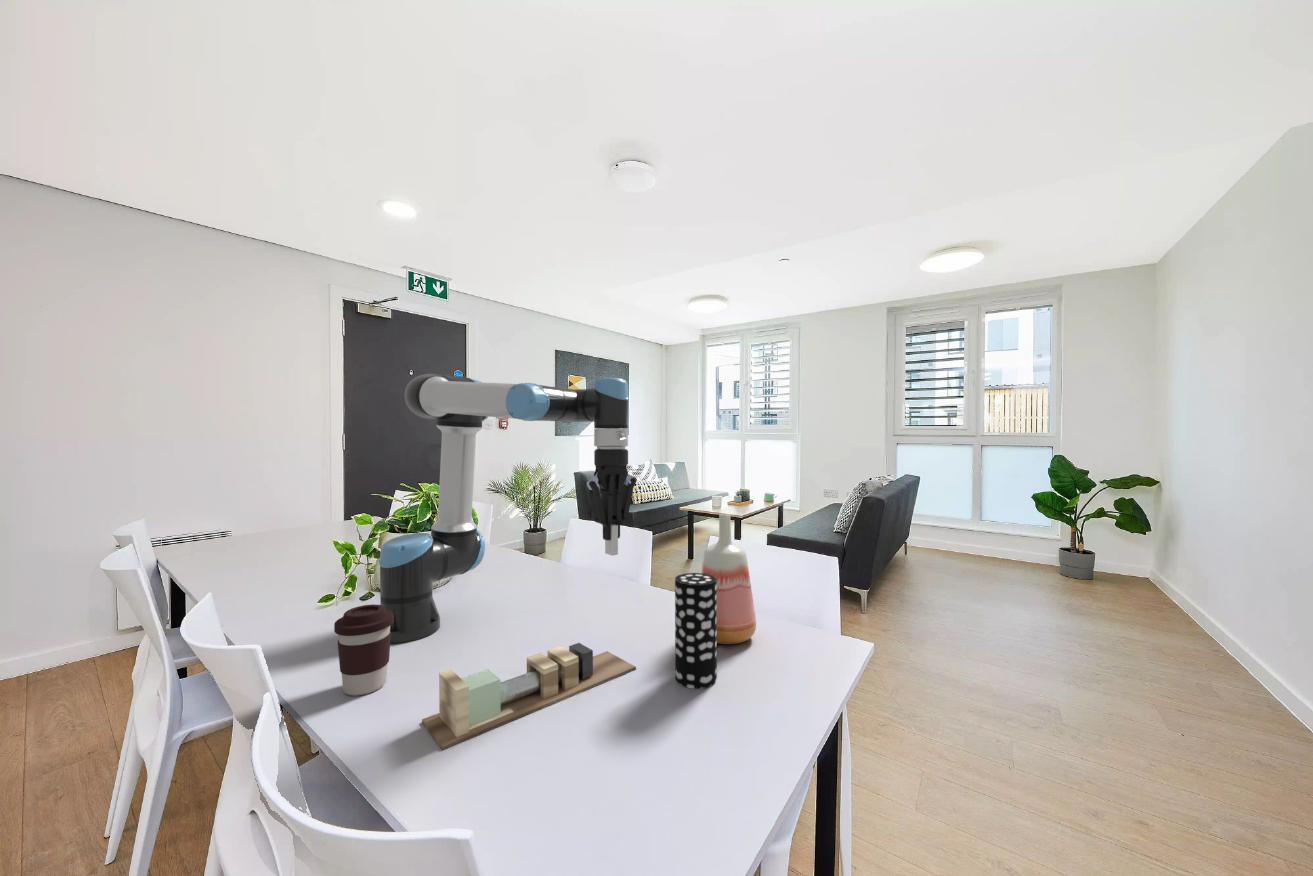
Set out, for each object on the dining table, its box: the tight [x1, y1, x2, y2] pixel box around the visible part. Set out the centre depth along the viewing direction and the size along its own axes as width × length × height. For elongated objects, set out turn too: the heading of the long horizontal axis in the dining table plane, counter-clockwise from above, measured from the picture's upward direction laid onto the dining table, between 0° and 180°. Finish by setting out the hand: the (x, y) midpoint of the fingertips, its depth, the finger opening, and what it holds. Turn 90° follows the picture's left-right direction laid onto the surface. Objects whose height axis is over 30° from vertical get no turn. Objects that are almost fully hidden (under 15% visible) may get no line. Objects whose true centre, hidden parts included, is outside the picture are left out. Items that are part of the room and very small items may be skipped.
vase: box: [701, 513, 757, 645], centre depth 118 cm, size 14×14×30 cm
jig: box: [421, 645, 637, 751], centre depth 93 cm, size 10×39×8 cm, turn 132°
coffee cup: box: [333, 604, 394, 696], centre depth 95 cm, size 10×10×15 cm
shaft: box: [500, 642, 594, 705], centre depth 93 cm, size 5×19×5 cm, turn 132°
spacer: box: [460, 668, 501, 726], centre depth 85 cm, size 5×6×6 cm
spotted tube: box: [674, 572, 718, 690], centre depth 98 cm, size 8×8×20 cm
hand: (611, 553), depth 109 cm, fingers closed
